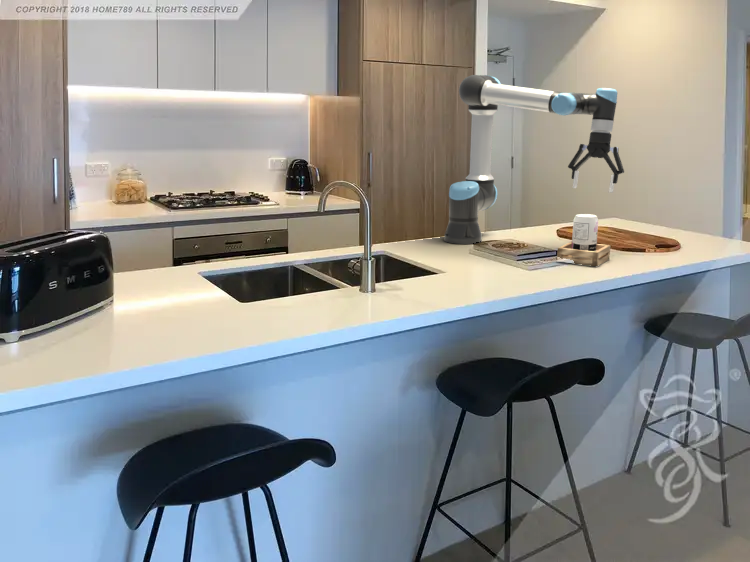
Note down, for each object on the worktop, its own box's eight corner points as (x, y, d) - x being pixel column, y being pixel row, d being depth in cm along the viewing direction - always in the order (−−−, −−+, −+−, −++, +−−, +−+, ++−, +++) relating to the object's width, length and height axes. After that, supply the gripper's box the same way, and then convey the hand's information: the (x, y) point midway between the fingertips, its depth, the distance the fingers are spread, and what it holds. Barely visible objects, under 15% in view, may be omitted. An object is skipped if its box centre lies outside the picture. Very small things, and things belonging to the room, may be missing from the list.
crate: (556, 262, 243) (557, 248, 242) (570, 254, 254) (571, 241, 253) (596, 267, 236) (597, 252, 234) (609, 259, 247) (610, 245, 245)
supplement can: (567, 255, 248) (570, 214, 245) (590, 254, 249) (593, 213, 245) (576, 260, 241) (578, 217, 237) (599, 259, 241) (602, 217, 238)
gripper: (638, 135, 251) (629, 193, 255) (571, 130, 264) (563, 186, 269) (633, 134, 245) (623, 194, 249) (564, 129, 258) (556, 186, 263)
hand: (592, 190), depth 259 cm, fingers open, 13 cm apart
